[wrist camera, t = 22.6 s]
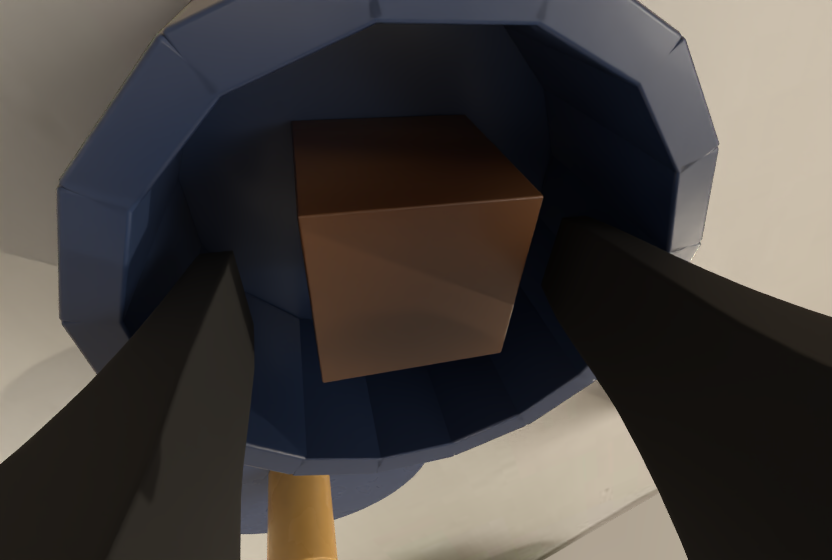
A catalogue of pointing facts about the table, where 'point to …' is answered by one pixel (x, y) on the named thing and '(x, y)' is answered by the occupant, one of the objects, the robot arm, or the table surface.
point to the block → (408, 240)
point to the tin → (376, 98)
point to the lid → (309, 507)
